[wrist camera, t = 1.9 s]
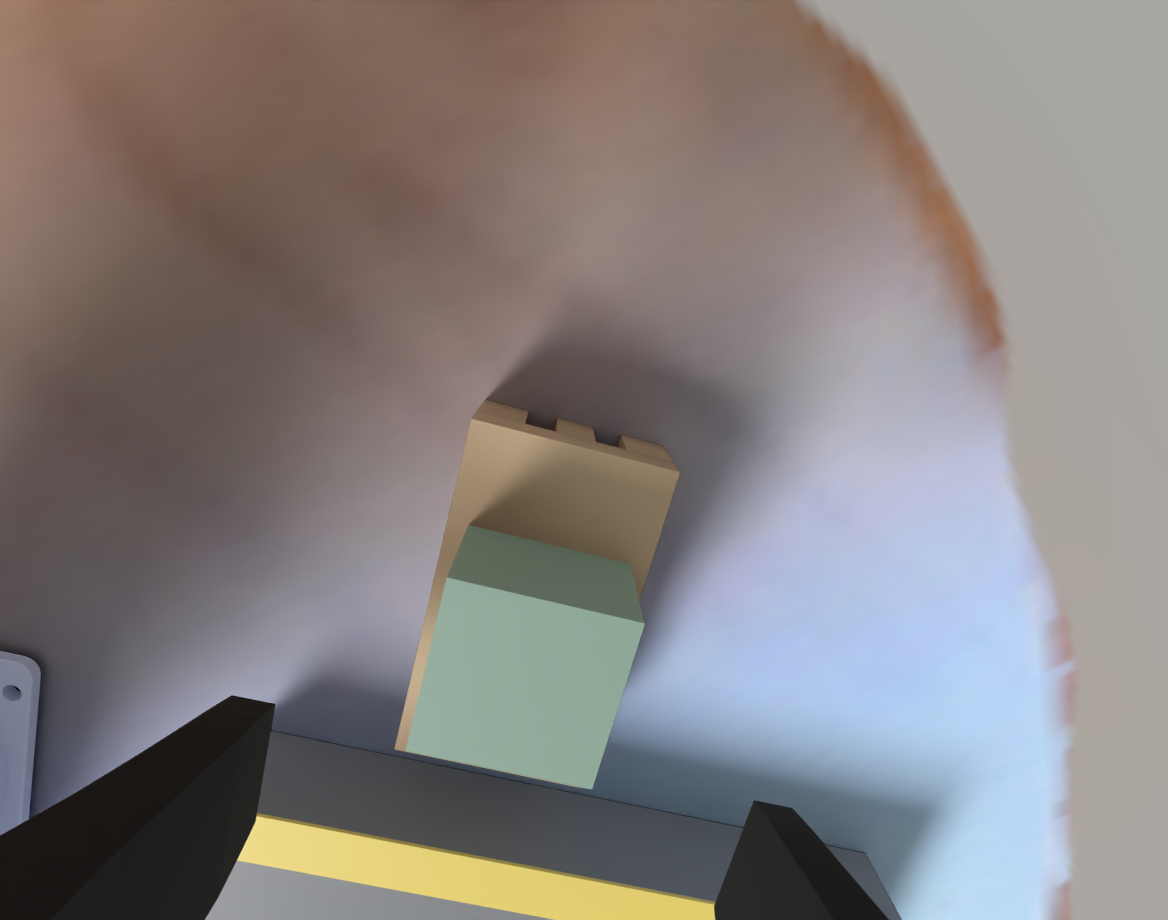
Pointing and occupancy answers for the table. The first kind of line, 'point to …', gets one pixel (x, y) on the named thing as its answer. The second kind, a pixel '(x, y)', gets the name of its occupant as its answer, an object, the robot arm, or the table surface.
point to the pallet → (550, 503)
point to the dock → (468, 848)
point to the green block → (527, 658)
